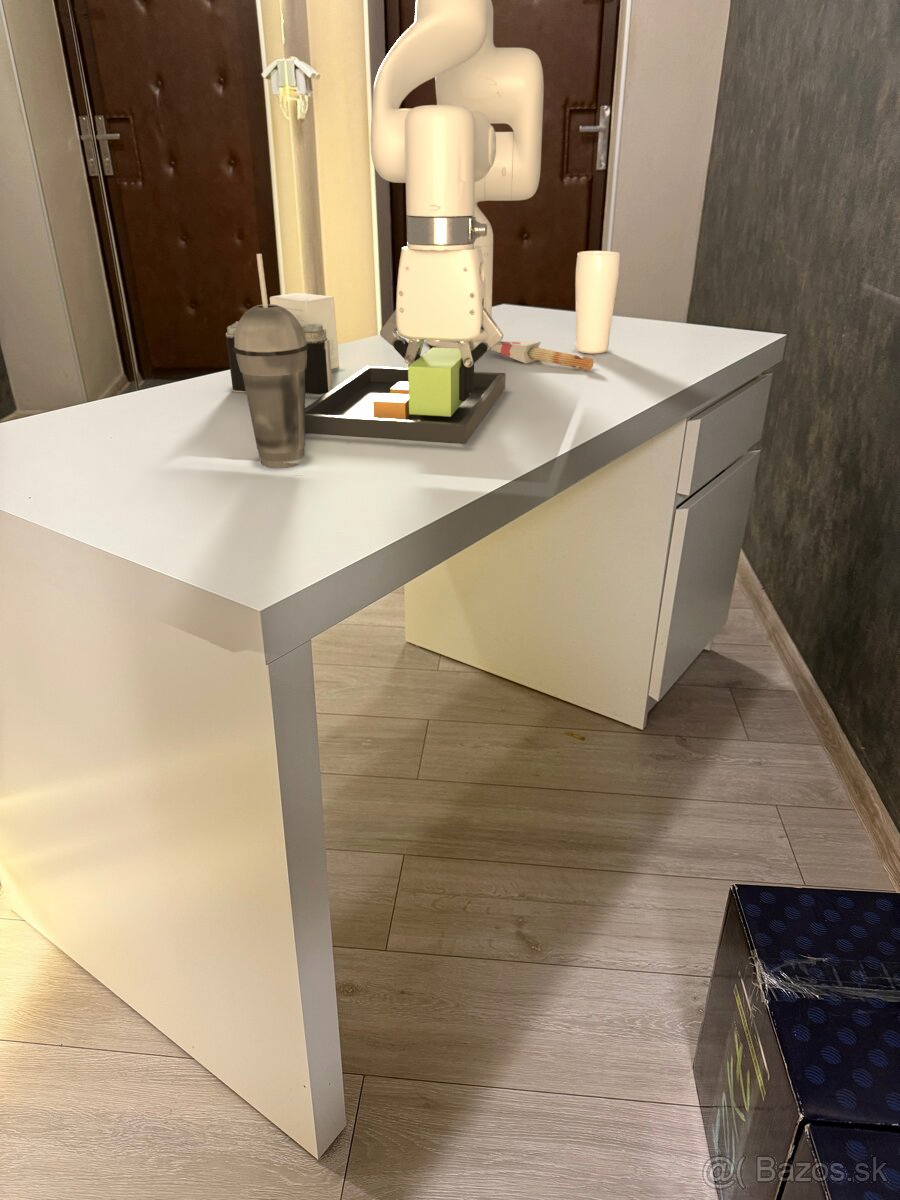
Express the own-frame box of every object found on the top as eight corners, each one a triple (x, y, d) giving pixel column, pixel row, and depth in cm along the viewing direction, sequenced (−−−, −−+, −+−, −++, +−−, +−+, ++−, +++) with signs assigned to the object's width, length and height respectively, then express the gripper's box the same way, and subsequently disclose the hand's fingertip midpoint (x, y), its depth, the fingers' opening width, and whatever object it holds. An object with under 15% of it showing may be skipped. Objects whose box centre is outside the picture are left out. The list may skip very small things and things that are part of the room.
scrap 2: (383, 409, 102) (382, 392, 101) (414, 410, 102) (414, 394, 101) (373, 417, 99) (372, 400, 98) (405, 419, 98) (405, 402, 97)
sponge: (433, 391, 107) (432, 347, 104) (471, 393, 106) (471, 348, 103) (408, 414, 96) (407, 366, 94) (450, 416, 95) (450, 368, 93)
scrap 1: (399, 396, 108) (398, 381, 107) (429, 398, 107) (428, 382, 106) (390, 404, 104) (390, 388, 103) (421, 406, 103) (421, 390, 102)
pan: (367, 384, 116) (366, 366, 115) (505, 392, 112) (505, 373, 111) (296, 437, 94) (294, 414, 93) (465, 449, 90) (465, 425, 89)
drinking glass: (621, 352, 135) (630, 253, 128) (590, 357, 132) (597, 255, 125) (592, 345, 140) (599, 249, 133) (562, 350, 137) (568, 252, 130)
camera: (214, 396, 110) (204, 318, 106) (241, 384, 116) (232, 310, 111) (315, 405, 106) (308, 324, 102) (337, 392, 112) (332, 315, 107)
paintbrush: (491, 331, 134) (598, 353, 124) (490, 349, 136) (595, 371, 125) (476, 335, 132) (584, 357, 121) (475, 352, 133) (582, 376, 122)
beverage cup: (254, 476, 82) (229, 260, 73) (240, 455, 88) (215, 252, 79) (325, 466, 85) (310, 256, 76) (307, 446, 91) (290, 249, 81)
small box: (340, 370, 124) (335, 296, 119) (312, 377, 120) (306, 300, 115) (304, 363, 128) (297, 291, 123) (276, 369, 125) (268, 295, 120)
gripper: (521, 233, 94) (515, 393, 102) (377, 231, 97) (383, 387, 106) (510, 237, 87) (505, 408, 96) (357, 235, 91) (365, 401, 99)
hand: (441, 395), depth 101 cm, fingers closed on sponge, 5 cm apart
